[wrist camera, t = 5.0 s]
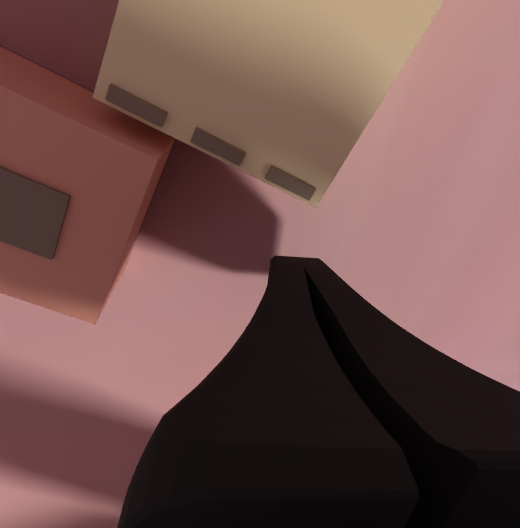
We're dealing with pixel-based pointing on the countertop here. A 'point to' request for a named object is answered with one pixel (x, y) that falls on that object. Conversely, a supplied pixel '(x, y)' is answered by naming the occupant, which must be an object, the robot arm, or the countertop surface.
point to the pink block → (69, 189)
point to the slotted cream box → (261, 77)
